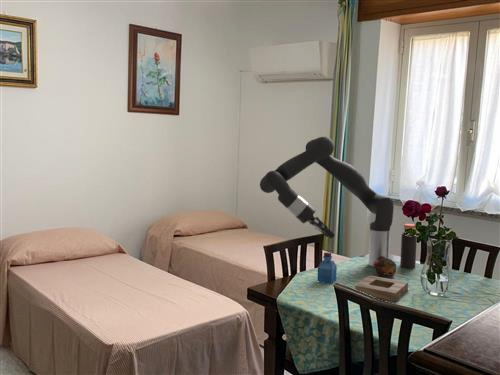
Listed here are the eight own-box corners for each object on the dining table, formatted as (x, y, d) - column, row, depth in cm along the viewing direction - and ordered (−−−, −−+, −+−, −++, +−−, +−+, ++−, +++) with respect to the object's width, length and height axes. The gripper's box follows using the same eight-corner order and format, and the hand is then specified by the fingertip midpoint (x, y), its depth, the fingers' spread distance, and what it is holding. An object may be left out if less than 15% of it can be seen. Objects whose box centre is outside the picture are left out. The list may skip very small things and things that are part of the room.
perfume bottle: (317, 282, 209) (318, 254, 207) (322, 278, 214) (323, 250, 213) (331, 284, 206) (332, 256, 205) (336, 280, 211) (337, 252, 210)
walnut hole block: (369, 283, 207) (369, 275, 207) (407, 290, 199) (408, 282, 198) (354, 294, 194) (355, 285, 194) (395, 302, 185) (395, 293, 185)
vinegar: (397, 266, 233) (399, 224, 231) (405, 263, 238) (407, 222, 235) (410, 269, 228) (412, 226, 226) (418, 266, 233) (420, 224, 230)
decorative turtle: (388, 270, 226) (389, 253, 225) (402, 281, 211) (403, 262, 210) (368, 271, 225) (368, 254, 224) (380, 281, 210) (381, 263, 209)
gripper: (310, 202, 193) (341, 230, 194) (304, 202, 208) (333, 228, 208) (297, 216, 193) (328, 244, 193) (292, 215, 207) (321, 241, 207)
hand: (330, 236), depth 201 cm, fingers open, 8 cm apart
